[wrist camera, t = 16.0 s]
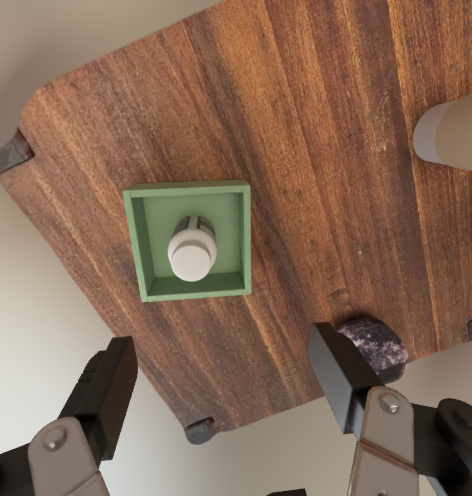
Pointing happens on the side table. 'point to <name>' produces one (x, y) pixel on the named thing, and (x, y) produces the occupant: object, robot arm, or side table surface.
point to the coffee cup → (446, 134)
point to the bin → (164, 223)
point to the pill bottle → (192, 248)
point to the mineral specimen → (378, 347)
